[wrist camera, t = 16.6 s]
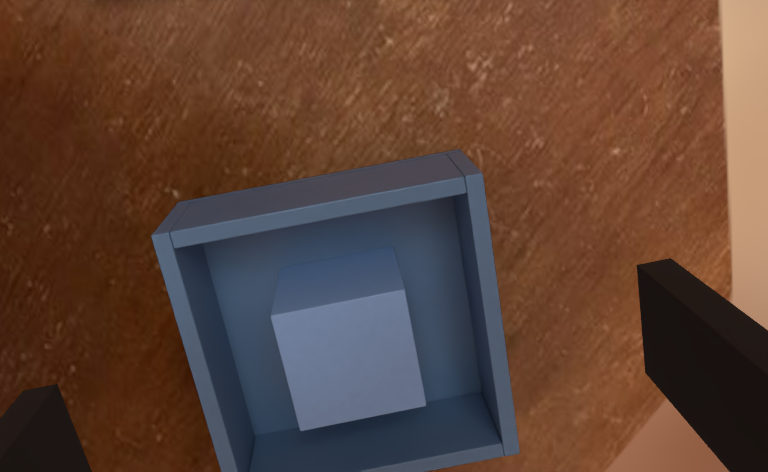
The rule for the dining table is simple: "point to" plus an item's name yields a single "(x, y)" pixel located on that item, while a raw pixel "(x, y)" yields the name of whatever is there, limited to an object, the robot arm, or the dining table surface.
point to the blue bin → (328, 240)
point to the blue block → (346, 339)
